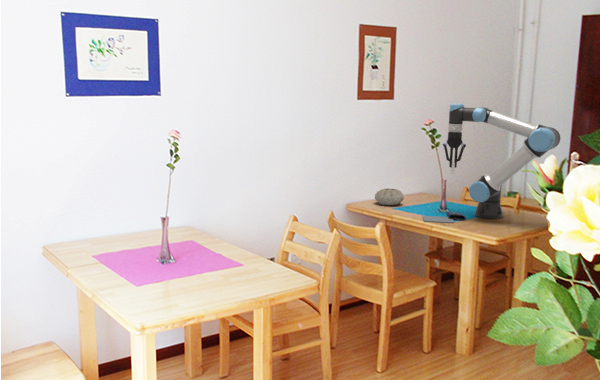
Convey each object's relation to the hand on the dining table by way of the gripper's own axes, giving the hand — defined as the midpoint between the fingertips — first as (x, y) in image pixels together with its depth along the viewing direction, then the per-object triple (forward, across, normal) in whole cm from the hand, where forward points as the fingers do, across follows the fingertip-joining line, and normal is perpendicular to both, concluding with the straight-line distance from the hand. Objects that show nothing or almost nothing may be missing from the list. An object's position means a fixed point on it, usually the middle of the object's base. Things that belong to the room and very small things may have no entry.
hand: (452, 173), depth 329 cm
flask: (+23, +3, -13) cm, 26 cm away
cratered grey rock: (+25, -34, +26) cm, 49 cm away
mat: (+24, -8, -14) cm, 29 cm away
